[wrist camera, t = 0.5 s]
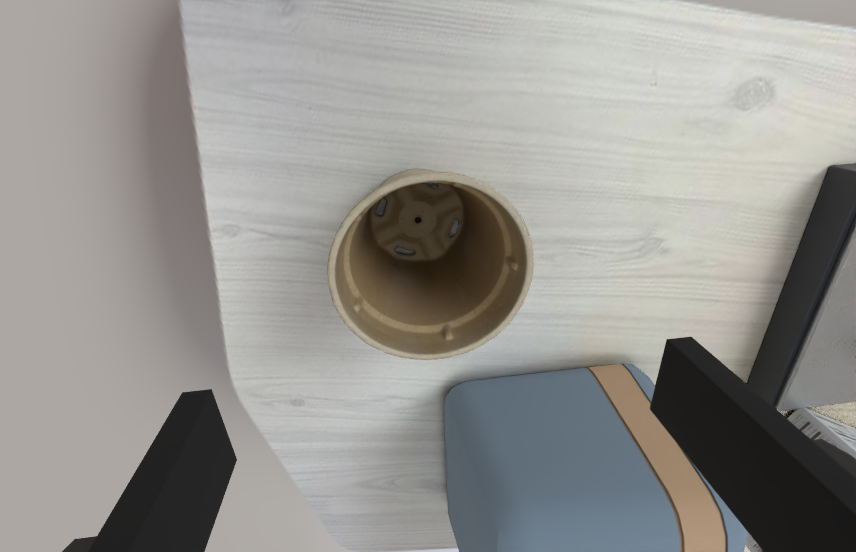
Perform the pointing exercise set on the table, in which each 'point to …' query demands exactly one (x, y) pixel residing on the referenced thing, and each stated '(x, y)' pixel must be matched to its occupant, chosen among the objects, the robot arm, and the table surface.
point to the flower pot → (430, 265)
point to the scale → (816, 309)
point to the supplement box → (819, 428)
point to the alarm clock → (575, 469)
